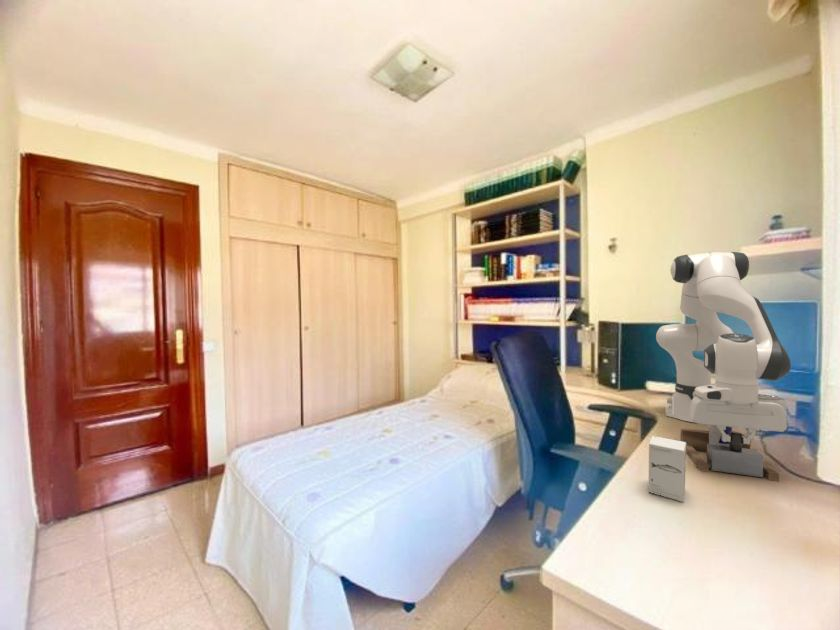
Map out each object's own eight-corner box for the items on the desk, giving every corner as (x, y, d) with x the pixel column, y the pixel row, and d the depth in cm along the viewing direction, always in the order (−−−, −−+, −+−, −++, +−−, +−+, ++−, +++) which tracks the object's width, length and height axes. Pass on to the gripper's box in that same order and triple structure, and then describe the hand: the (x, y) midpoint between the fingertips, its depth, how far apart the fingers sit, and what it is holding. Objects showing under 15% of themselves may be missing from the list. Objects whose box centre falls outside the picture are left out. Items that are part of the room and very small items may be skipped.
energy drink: (736, 462, 104) (736, 422, 104) (715, 461, 105) (715, 421, 105) (724, 455, 109) (724, 417, 109) (704, 453, 110) (705, 416, 110)
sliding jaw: (706, 464, 102) (707, 427, 102) (755, 470, 98) (755, 431, 98) (712, 470, 98) (712, 431, 98) (763, 477, 94) (763, 437, 94)
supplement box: (647, 493, 88) (647, 443, 87) (651, 481, 93) (651, 434, 93) (684, 503, 83) (684, 450, 83) (686, 490, 88) (686, 441, 88)
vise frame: (680, 446, 116) (680, 427, 116) (746, 454, 109) (746, 434, 109) (699, 470, 99) (699, 448, 99) (778, 481, 93) (778, 457, 93)
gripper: (779, 393, 96) (778, 443, 96) (688, 387, 104) (687, 433, 104) (793, 399, 90) (792, 452, 90) (695, 392, 98) (695, 441, 98)
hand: (735, 442), depth 97 cm, fingers open, 3 cm apart
